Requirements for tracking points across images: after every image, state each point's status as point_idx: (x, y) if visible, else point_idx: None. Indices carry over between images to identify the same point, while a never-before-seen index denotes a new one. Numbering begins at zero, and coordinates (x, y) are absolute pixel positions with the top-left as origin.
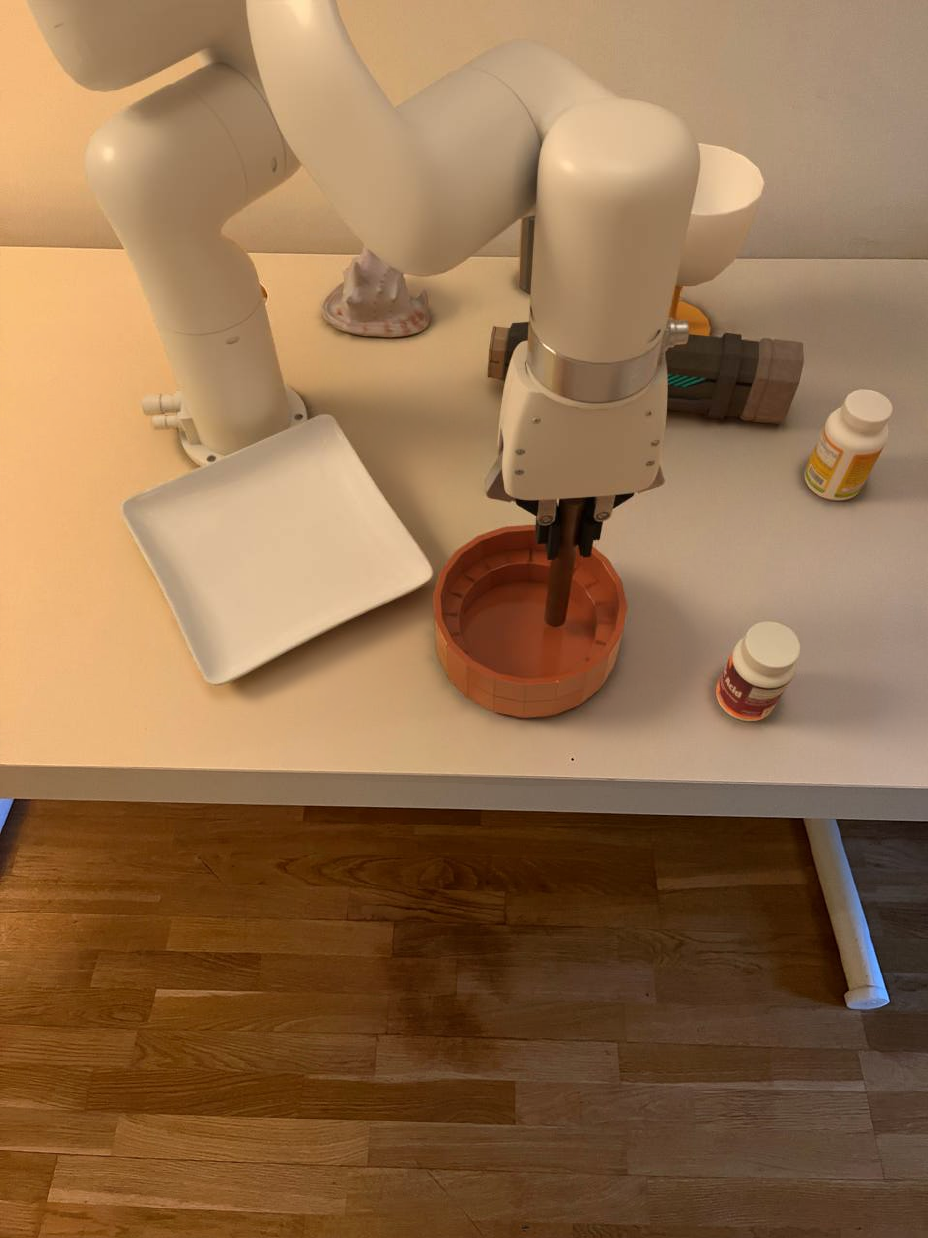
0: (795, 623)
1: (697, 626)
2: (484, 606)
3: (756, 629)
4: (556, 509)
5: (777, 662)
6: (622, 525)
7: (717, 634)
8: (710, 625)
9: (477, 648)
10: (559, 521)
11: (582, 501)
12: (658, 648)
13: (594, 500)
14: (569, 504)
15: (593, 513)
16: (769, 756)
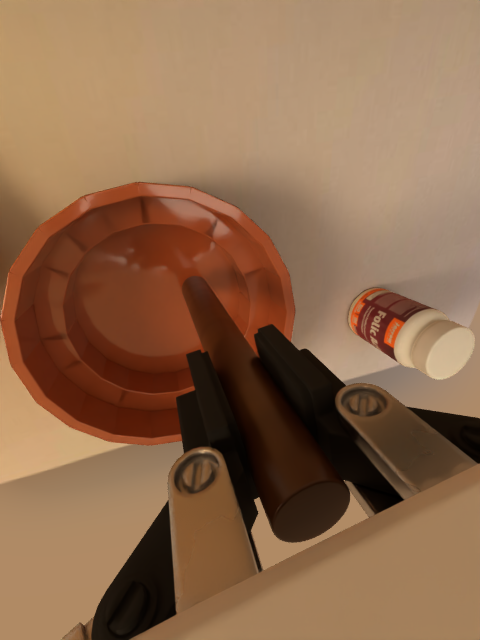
0: (426, 220)
1: (340, 243)
2: (96, 273)
3: (441, 343)
4: (253, 508)
5: (448, 373)
6: (261, 81)
7: (357, 249)
8: (352, 239)
9: (108, 333)
10: (254, 489)
11: (339, 519)
12: (301, 278)
13: (361, 469)
14: (302, 540)
15: (350, 488)
16: (376, 356)
